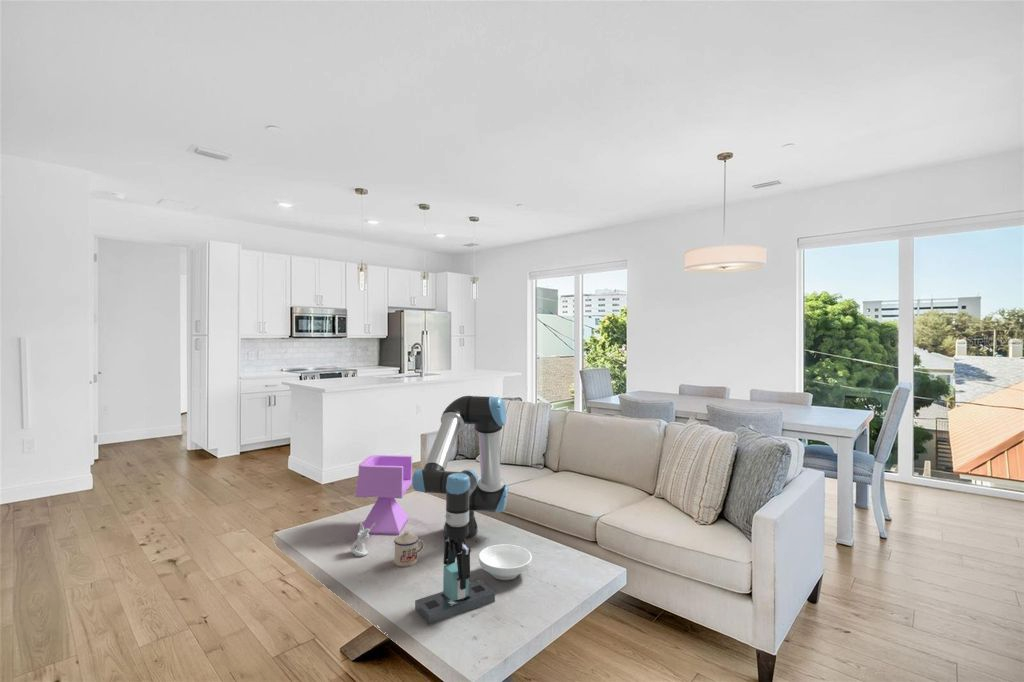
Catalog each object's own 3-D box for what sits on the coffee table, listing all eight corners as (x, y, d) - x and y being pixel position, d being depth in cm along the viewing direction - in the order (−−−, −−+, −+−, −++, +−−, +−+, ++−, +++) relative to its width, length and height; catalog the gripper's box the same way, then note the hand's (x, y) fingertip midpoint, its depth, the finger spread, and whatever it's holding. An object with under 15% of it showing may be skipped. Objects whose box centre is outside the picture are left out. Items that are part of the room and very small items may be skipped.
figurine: (357, 560, 189) (357, 529, 189) (346, 553, 194) (347, 523, 194) (381, 550, 197) (381, 521, 197) (370, 545, 202) (370, 516, 202)
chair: (400, 536, 211) (402, 467, 210) (355, 535, 211) (356, 466, 211) (411, 518, 231) (412, 455, 230) (369, 517, 231) (370, 454, 231)
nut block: (459, 587, 162) (459, 560, 162) (468, 595, 158) (469, 568, 157) (443, 592, 159) (443, 565, 159) (452, 601, 154) (452, 573, 154)
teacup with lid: (399, 569, 181) (400, 538, 181) (390, 560, 189) (390, 530, 188) (428, 561, 188) (429, 531, 188) (418, 552, 196) (419, 523, 195)
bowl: (537, 567, 185) (538, 549, 185) (521, 593, 167) (522, 572, 167) (490, 558, 192) (490, 540, 192) (469, 582, 173) (470, 562, 173)
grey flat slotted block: (479, 588, 169) (479, 579, 169) (494, 601, 161) (495, 592, 161) (414, 609, 155) (415, 600, 155) (428, 625, 147) (428, 615, 147)
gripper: (433, 515, 163) (432, 583, 164) (461, 535, 148) (460, 610, 148) (453, 511, 168) (452, 577, 168) (482, 530, 152) (481, 603, 153)
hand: (455, 593), depth 158 cm, fingers closed on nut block, 6 cm apart
